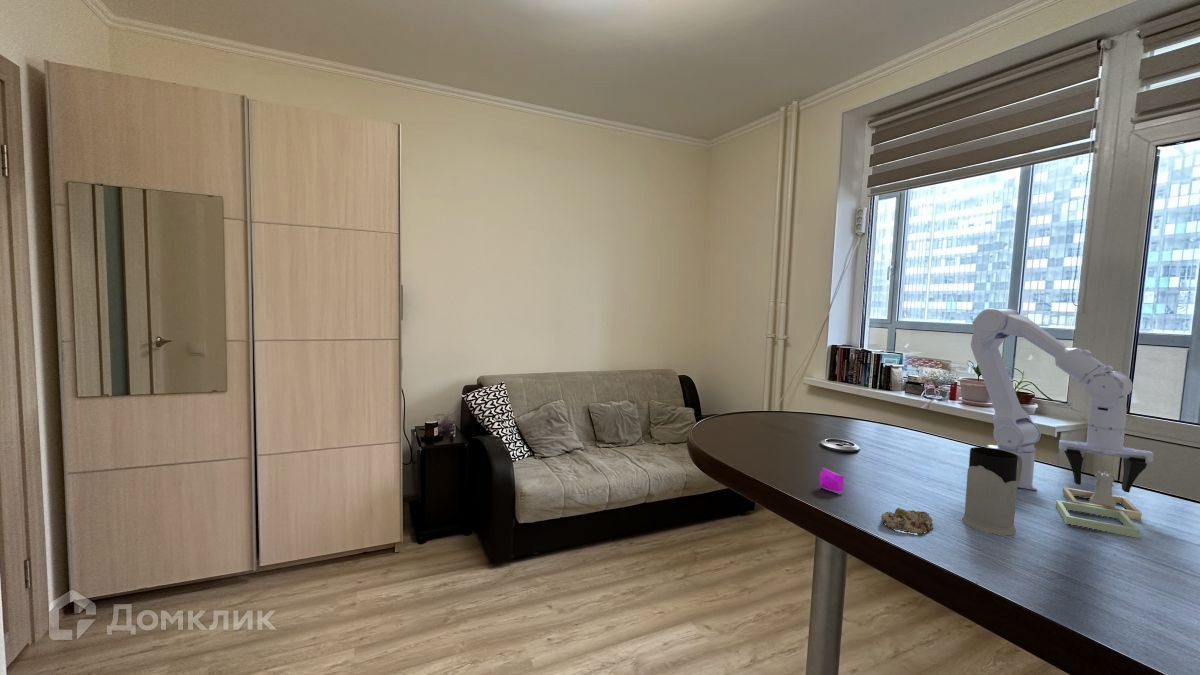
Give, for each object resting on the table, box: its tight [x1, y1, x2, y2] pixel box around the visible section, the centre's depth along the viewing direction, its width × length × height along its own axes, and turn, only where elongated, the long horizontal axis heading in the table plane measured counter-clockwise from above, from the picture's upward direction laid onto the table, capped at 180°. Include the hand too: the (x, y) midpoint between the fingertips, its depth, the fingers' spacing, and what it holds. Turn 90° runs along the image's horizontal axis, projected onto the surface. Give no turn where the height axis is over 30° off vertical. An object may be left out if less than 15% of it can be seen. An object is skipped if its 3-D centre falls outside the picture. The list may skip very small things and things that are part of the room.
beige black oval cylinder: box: [961, 446, 1022, 536], centre depth 100 cm, size 9×14×15 cm, turn 113°
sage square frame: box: [1055, 499, 1141, 539], centre depth 102 cm, size 10×10×2 cm
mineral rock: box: [880, 507, 934, 535], centre depth 99 cm, size 11×4×8 cm
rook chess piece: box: [1088, 470, 1118, 508], centre depth 109 cm, size 4×4×8 cm
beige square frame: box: [1062, 486, 1143, 521], centre depth 110 cm, size 10×10×2 cm
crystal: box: [818, 467, 844, 492], centre depth 117 cm, size 5×5×5 cm
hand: (1100, 487), depth 109 cm, fingers open, 7 cm apart
